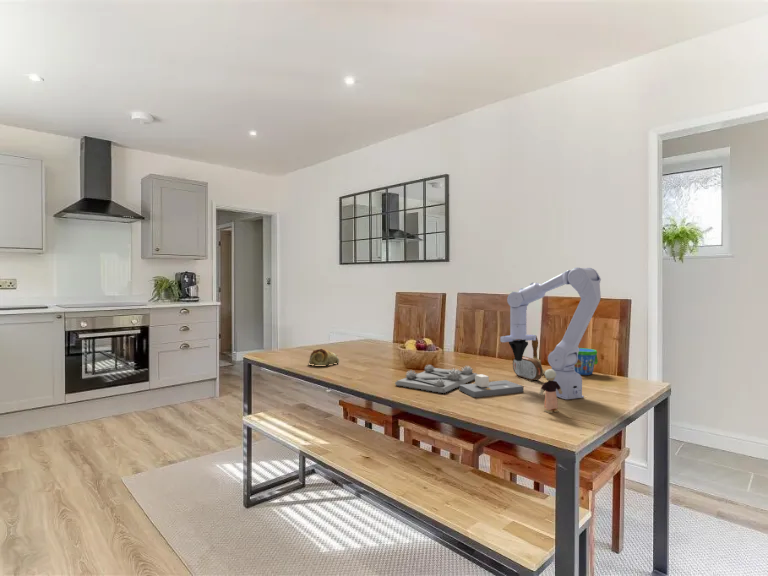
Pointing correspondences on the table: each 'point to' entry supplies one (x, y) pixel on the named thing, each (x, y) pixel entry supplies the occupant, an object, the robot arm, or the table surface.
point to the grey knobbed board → (437, 379)
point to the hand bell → (535, 346)
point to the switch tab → (482, 380)
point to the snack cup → (586, 361)
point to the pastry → (323, 357)
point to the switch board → (491, 388)
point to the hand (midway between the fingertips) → (518, 360)
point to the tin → (528, 368)
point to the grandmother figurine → (550, 392)
